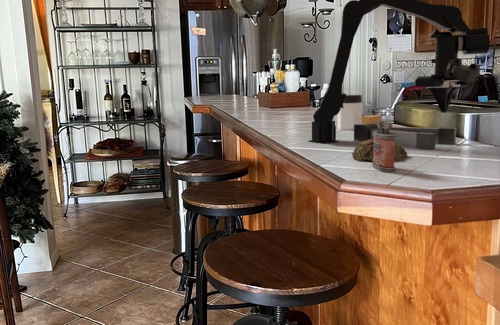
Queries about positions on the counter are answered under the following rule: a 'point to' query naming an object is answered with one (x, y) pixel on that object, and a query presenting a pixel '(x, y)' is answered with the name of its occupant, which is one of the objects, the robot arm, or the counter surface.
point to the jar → (350, 112)
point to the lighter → (384, 147)
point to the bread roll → (367, 147)
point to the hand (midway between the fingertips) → (443, 112)
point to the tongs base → (397, 137)
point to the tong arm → (440, 133)
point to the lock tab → (371, 119)
